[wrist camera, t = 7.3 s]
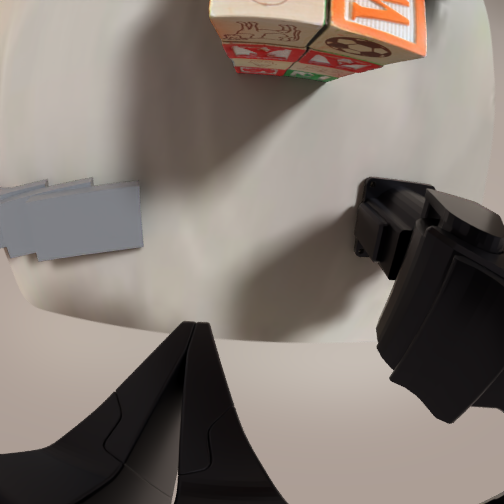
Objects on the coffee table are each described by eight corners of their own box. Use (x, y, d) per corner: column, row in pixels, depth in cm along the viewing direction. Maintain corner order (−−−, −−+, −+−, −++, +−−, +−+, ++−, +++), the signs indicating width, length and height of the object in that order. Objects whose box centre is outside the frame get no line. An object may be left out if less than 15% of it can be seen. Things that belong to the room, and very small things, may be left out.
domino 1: (44, 183, 17) (-37, 206, 13) (53, 235, 20) (-23, 254, 15) (47, 179, 18) (-31, 200, 14) (54, 228, 21) (-19, 246, 16)
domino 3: (139, 185, 18) (24, 202, 14) (143, 246, 20) (38, 261, 17) (138, 180, 19) (31, 196, 15) (142, 237, 21) (42, 251, 18)
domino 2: (90, 182, 17) (-5, 205, 14) (100, 239, 20) (10, 258, 16) (92, 177, 19) (2, 199, 15) (101, 231, 21) (15, 249, 18)
